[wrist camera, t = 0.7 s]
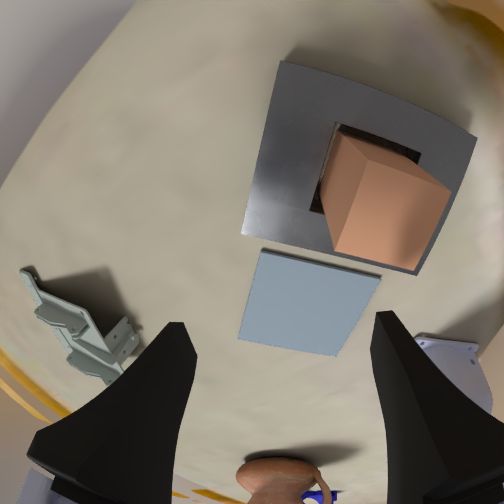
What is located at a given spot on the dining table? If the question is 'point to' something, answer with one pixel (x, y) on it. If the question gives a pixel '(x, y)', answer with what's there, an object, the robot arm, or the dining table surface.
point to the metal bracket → (84, 335)
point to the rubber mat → (304, 304)
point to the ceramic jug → (280, 480)
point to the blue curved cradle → (318, 496)
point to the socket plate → (316, 145)
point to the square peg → (379, 202)
